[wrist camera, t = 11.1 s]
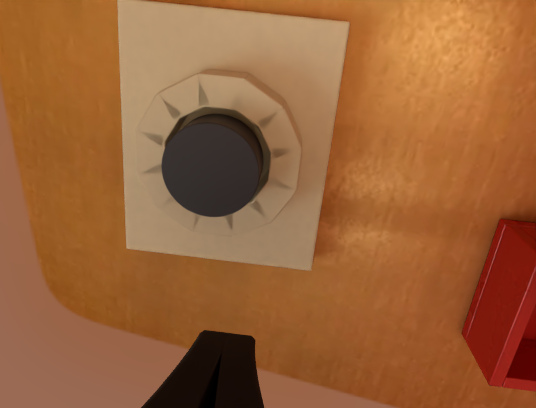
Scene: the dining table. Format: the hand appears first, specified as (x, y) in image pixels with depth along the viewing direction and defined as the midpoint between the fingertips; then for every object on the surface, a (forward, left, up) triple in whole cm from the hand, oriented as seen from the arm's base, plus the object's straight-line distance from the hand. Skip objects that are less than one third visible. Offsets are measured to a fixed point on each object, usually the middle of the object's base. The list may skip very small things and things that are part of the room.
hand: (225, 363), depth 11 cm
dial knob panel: (+3, +2, -10) cm, 11 cm away
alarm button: (+3, +2, -8) cm, 8 cm away
